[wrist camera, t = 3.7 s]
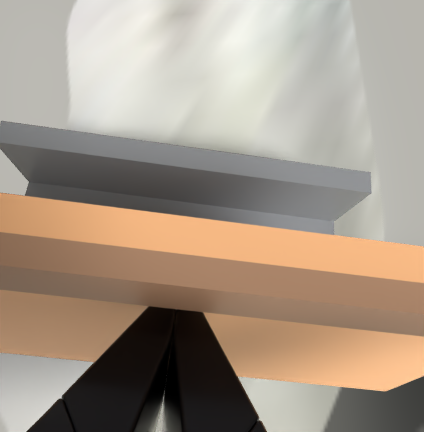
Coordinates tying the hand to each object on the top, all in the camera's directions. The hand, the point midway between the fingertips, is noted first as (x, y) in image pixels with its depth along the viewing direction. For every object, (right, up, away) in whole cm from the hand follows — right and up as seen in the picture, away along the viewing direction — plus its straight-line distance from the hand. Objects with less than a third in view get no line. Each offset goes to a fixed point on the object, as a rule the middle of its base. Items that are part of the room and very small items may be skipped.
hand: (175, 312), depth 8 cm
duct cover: (0, 0, +2) cm, 2 cm away
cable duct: (-1, -1, +11) cm, 11 cm away
